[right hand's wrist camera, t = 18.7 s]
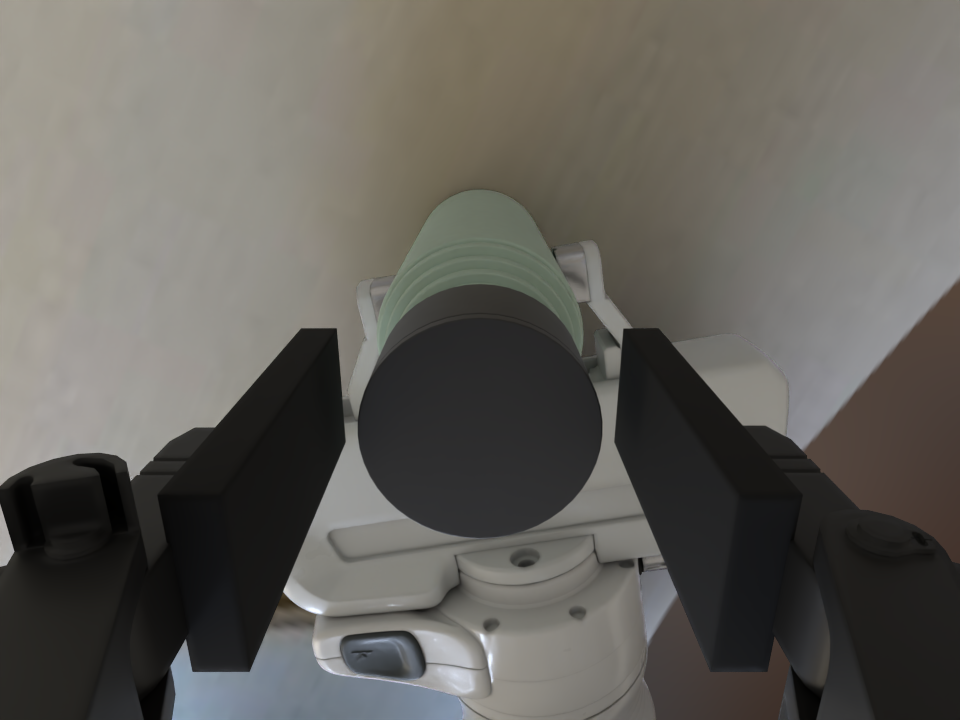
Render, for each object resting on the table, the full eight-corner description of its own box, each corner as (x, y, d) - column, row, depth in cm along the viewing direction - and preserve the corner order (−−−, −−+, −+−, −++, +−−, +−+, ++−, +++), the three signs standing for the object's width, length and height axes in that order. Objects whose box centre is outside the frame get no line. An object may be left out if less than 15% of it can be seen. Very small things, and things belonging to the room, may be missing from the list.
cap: (396, 483, 15) (380, 550, 13) (359, 297, 14) (334, 335, 11) (589, 461, 15) (609, 526, 13) (574, 270, 13) (595, 302, 11)
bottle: (448, 167, 27) (402, 233, 11) (563, 222, 28) (677, 358, 12) (399, 282, 29) (297, 484, 13) (509, 331, 30) (543, 579, 14)
